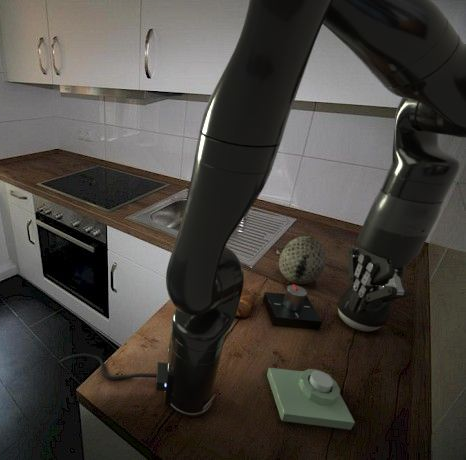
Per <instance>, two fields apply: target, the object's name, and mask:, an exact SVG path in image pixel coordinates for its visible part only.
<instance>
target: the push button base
mask: <svg viewBox="0 0 466 460" xmlns="http://www.w3.org/2000/svg"><path fill="white" fill-rule="evenodd" d="M314 371H321V370H319V369H314V368H307V369H305V370H303V371H302V370H292V369H286V368H285V369H284V368H275V367H268V369H267V371H266V376H267V380H268V383H269V387H270V389H271V392H272V395H273V399H274V401H275V406H276V408H277V411H278V414H279V418H280V420H281V421H282V422H287V423H288V422H289V423H294V424H295V423H296V424H304V425H312V426H318V427H325V428H326V427H327V428H328V427H329V428H333V429H342V430H348V431H349V430H350V431H351V430H352V429H353V427H354V425H355V424H356V422H355V420H354V418H353V415H352V414H351V412H350V409H349V408H348V406H347V405H346V402H345V401H344V398H343V397H342V395H341V393H340V392H341V388H340V386H339V385H338V383H337V381H336V380H335V379H334V378H333V377H332V376H331V374H329V373H326V374H327V375H328V376H330V378H331V379H332V381H333V385H332V387H331V389H330V391H329V392H328V393H321V392H319V391H317V390H315V389H314V388H313V387H312V386H311V385H310V383H309V379H310V376H311V374H312V372H314ZM321 372H323V371H321Z"/></svg>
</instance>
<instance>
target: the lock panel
mask: <svg viewBox="0 0 466 460" xmlns="http://www.w3.org/2000/svg"><path fill="white" fill-rule="evenodd" d="M285 294H286V293H283V292H282V293H281V292H269V291H267V292H266V291H264V294H263V297H262V302H263V305H264V308H265V310H266V313H267V314H268V317H269V320H270V322H271V325H272V327H279V328H290V329H291V328H292V329H299V330H310V331H320V330H321V326H322V324H323V320H322V318H321V317H320V314H319V313H318V311H317V310H316V308H315V307H314V305H313V303H312V302H311V300H310V299H309V297H308V295H306V297H305V300H304V303H303V306H302V309H301V310H300V311H291V310H289V309H287V308H286V307H284V305H283V301H284V297H285Z"/></svg>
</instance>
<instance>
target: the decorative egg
mask: <svg viewBox="0 0 466 460" xmlns="http://www.w3.org/2000/svg"><path fill="white" fill-rule="evenodd" d="M326 261H327V257H326V251H325V248H324V246H323V244H322V243H321V242H320V241H319V240H317V238H314V237H312V236H307V235H306V236H304V235H303V236H299V237H296V238H294V239H292V240H290V241H289V242H288V243H287V244H286V245H285V246H284V247H283V249H282V251H281V253H280V256H279V260H278V267H279V270H280V271H279V272H280V273H281V274H282V276H283V277H284V279H286V280H287V281H289V282H290V283H292V284H295V285H309V284H310V283H313V282H315V281H316V280H317V279H319V278H320V276H321V275H322V274H323V272H324V270H325V267H326Z"/></svg>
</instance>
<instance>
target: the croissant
mask: <svg viewBox="0 0 466 460" xmlns="http://www.w3.org/2000/svg"><path fill="white" fill-rule="evenodd" d="M255 305H256V299H255V298H254V297H253V295H252V294H251V292H250V291H249V289H247V288H245V287H243V290H242V294H241V298H240V301H239V305H238V309H237V312H236V316H235V317H240V318H247V317H249V316H250V315H251V314H252V311H253V310H252V307H255Z"/></svg>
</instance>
